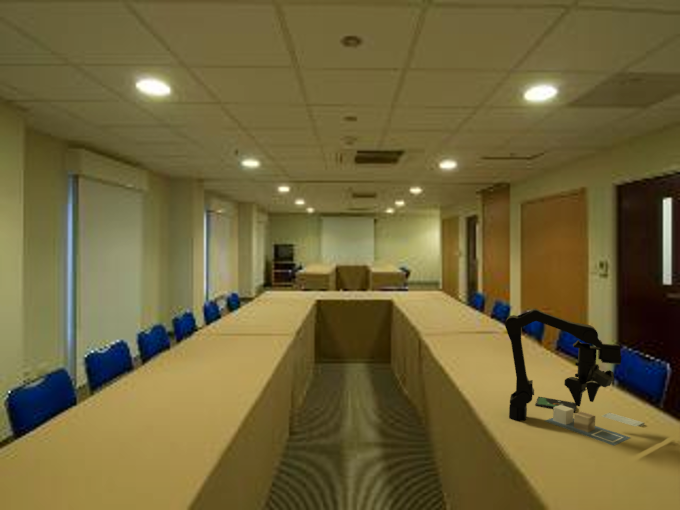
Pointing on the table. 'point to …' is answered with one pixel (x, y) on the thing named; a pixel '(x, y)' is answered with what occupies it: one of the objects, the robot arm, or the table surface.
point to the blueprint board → (594, 433)
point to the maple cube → (584, 421)
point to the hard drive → (623, 419)
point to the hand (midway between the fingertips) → (584, 403)
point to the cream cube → (563, 414)
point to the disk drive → (554, 403)
